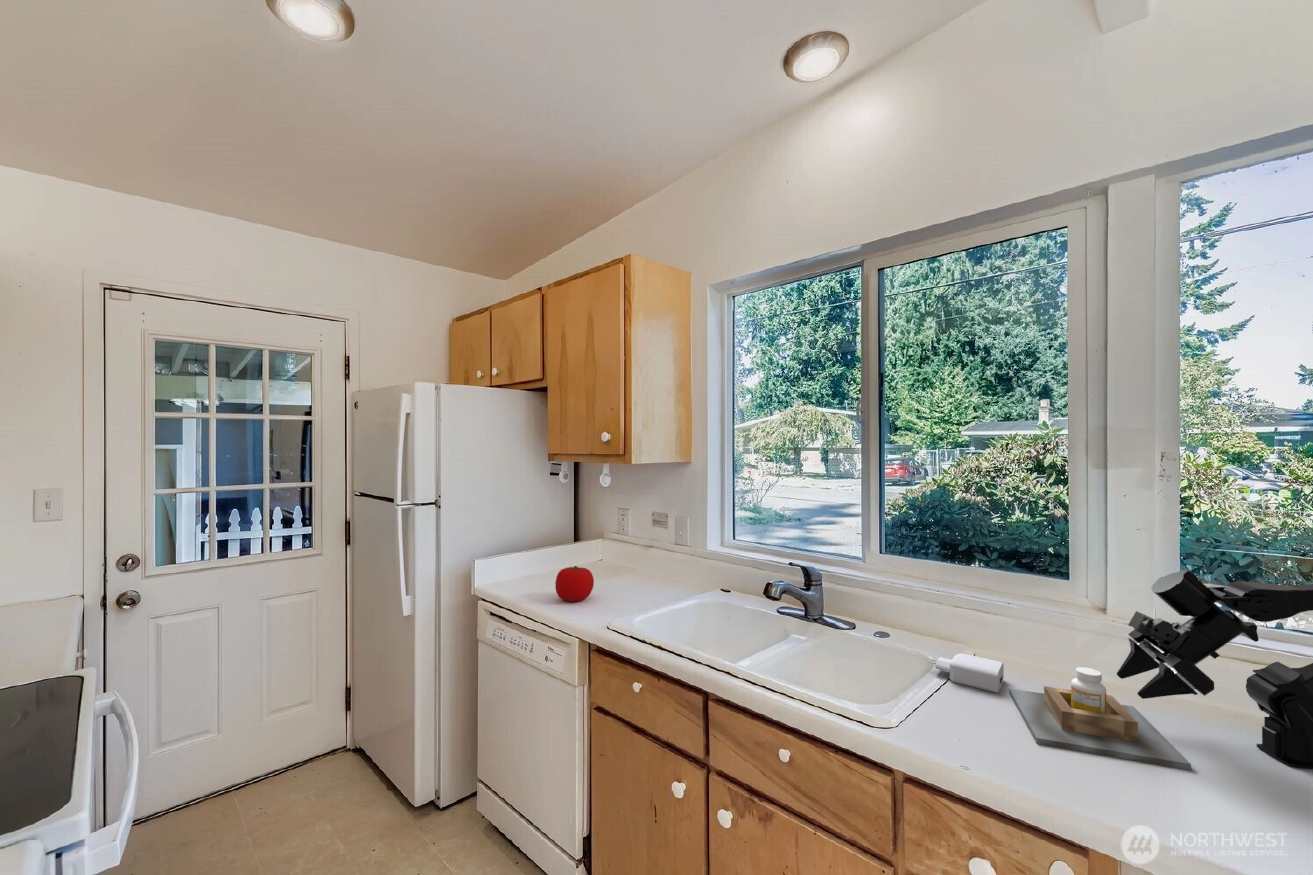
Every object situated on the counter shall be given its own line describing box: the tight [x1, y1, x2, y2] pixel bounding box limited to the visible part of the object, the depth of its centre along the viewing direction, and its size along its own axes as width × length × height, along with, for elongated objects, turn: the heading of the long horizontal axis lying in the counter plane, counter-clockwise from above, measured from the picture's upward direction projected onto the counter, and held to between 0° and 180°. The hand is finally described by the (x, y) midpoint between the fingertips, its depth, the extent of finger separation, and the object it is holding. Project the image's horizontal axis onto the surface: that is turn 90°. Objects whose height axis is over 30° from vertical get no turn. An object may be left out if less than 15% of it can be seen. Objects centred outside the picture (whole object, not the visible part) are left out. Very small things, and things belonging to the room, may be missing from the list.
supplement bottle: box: [1070, 666, 1107, 713], centre depth 107 cm, size 5×5×10 cm
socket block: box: [1008, 685, 1192, 771], centre depth 107 cm, size 22×22×4 cm
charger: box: [927, 652, 1005, 694], centre depth 129 cm, size 5×9×15 cm
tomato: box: [554, 565, 595, 603], centre depth 192 cm, size 13×14×12 cm
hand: (1128, 685), depth 105 cm, fingers open, 9 cm apart
